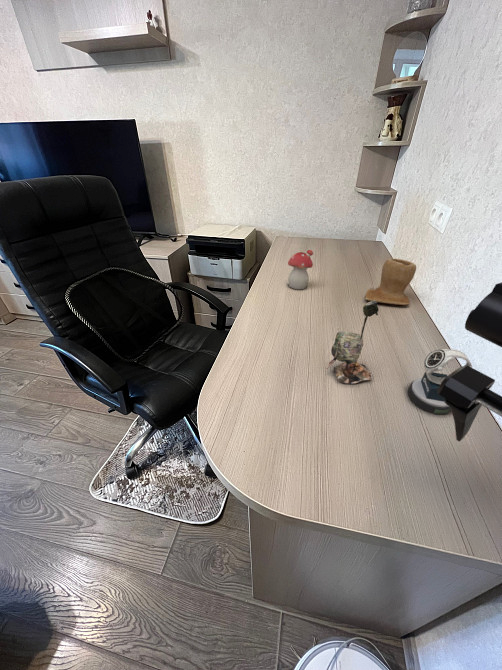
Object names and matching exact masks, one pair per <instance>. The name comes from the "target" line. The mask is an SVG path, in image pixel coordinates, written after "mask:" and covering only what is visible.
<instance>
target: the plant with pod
mask: <svg viewBox="0 0 502 670" xmlns="http://www.w3.org/2000/svg"><path fill="white" fill-rule="evenodd" d="M362 313H363V315H364V316H365V317H364V320H363V324H362V327H361V328H362V329H361V334H360V333H356V332H352V331H347V330H342V331H338V330H340V328H337V333H336V335H335V339H334V343H333V345H332V346H331V349H330V351H331V352H330V353H331V356H332V357H333V359H332V360H330V362H329V363H328V365H326V368H325V370H329V368H330V367H331V366H332V365H333V364H334V363H335V362H336V361H338V362H341V364H336V365H334V366H333V372H334V375H335V377H336V379H337V381H338V382H340V383H342V384H357V383H360V382H364V381H370V380H371V379H372V375H371V374H372V372H369V369H368V368H367V365H365V364H363V363H358V360H359V358H360V355H362V350H363V347H364V338H363V335H364V330H365V328H366V324H367V320H368V317H369V318H370V317H372V316H374V315H375V316H379V306H378V302H376V301H375V300H373V301H368V302H366V303H364V305H363V306H362Z"/></svg>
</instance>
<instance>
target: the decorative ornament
mask: <svg viewBox="0 0 502 670" xmlns="http://www.w3.org/2000/svg"><path fill="white" fill-rule="evenodd" d="M313 255H314V251H313V250H312V249H308V250H306V252H302V251H300V252H296V253H294V254H293V255H292V256H291V257H290V258H289V260H288V262H287V265H288V266H290V267H292V268H293V269H292V270H291V271H290V273H289V274H288V287H289V288H291V289H293V290H305V289H306V287H307V285H308V283H309V280H310V279H309V278H310V276H309V273H308V271H307V270H308V269H312V268H313V266H314V263H313V260H312V258H311V256H313Z"/></svg>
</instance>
